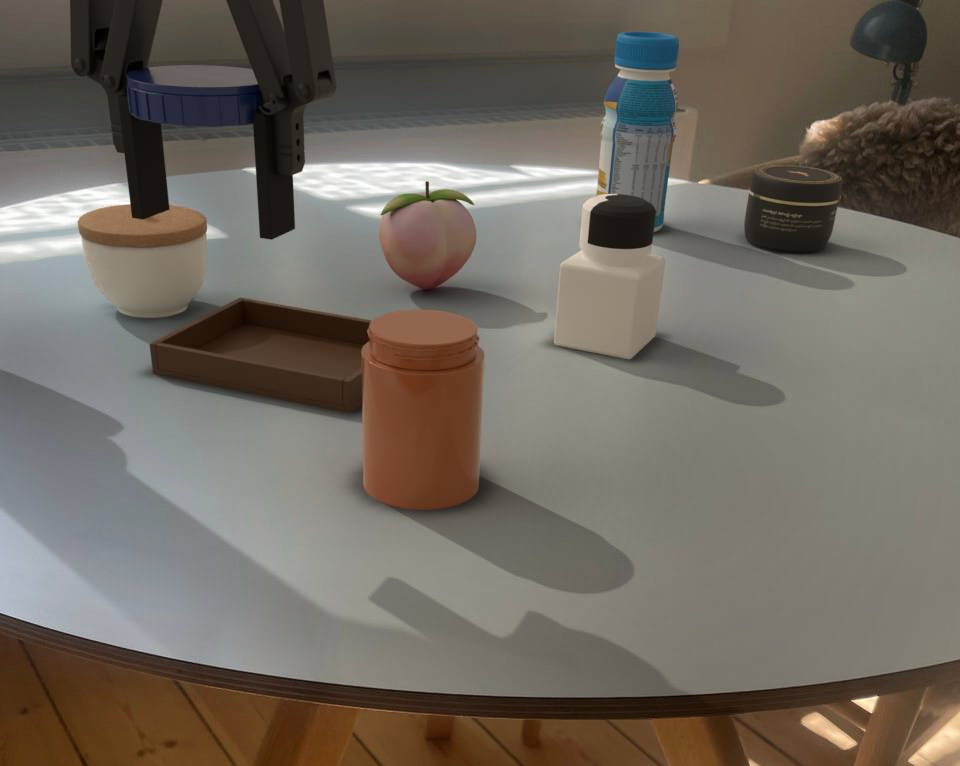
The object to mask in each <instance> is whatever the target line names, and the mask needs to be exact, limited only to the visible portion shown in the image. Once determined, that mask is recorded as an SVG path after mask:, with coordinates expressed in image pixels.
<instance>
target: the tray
mask: <svg viewBox="0 0 960 766" xmlns="http://www.w3.org/2000/svg"><path fill="white" fill-rule="evenodd" d="M372 320H373V319H372ZM372 320H371V319H366V318H359V317H354V316H349V315H342V314H338V313H336V314H335V313H332V312H327V311H320V310H314V309H308V308H303V307H298V306H297V307H296V306H292V305H285V304H280V303H275V302H274V303H273V302H270V301H269V302H268V301H262V300H256V299H250V298H244V297H238V298H236V299H234V300H232V301H230V302H227V303H226V304H223V306H221V307H218V308H216V309H214V310H213V311H210V312H209V313H207V314H205V315H203V316H200V317H198V318H197V319H195V320H193V321H191V322H189V323H187V324H185V325H183V326H181V327H179V328H177V329H175V330H173V331H171V332H170V333H167V334H165V335H163V336H161V337H160V338H157V339H156V340H154V341H151V342H150V343H149V352H150V360H151V368H152V374H153V375H158V376H163V377H167V378H173V379H178V380H182V381H187V382H193V383H198V384H203V385H208V386H212V387H219V388H221V389H222V388H224V389H226V390H227V389H229V390H231V391H238V392H243V393H248V394H252V395H253V394H254V395H258V396H262V397H268V398H272V399H278V400H283V401H288V402H293V403H298V404H302V405H308V406H314V407H318V408H322V409H328V410H333V411H338V412H343V413H348V414H351V413H353V412H354V411H356V410H357V409H358V408H359V407H360V406H362V367H361V350H362V348H363V346H364V345H365V344H366V343H367V342H369V337H368V334H367V330H368V328H369V325H370V323H371V321H372Z"/></svg>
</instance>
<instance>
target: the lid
mask: <svg viewBox="0 0 960 766" xmlns="http://www.w3.org/2000/svg"><path fill="white" fill-rule="evenodd" d="M126 77H127V83H128V84H126V88H127V97H128V106H129V110H130V114H132V115H133V116H134V117H136V118H139V119H141V120H145V121H149V122H154V123H159V124H161V125H169V126H178V127H179V126H180V127H201V128H203V127H206V128H207V127H208V128H209V127H211V128H213V127H215V128H220V127H236V126H248V125H253V115H252V112H257V111H260V108H259V106H262V105H264V104H265V101H264V98H263V96H262V93H261V91H260V88H259V85H258V83H257V80H256V77H255V75H254V72H253V70H252V68H247V67H246V68H245V67H238V66H227V65H208V64H207V65H206V64H198V65H197V64H179V65H176V64H175V65H161V66H160V65H158V66H151V67H147V68H142V69H138V70H134V71H131V72H129V73H128V74H127V76H126Z"/></svg>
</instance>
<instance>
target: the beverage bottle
mask: <svg viewBox="0 0 960 766" xmlns="http://www.w3.org/2000/svg"><path fill="white" fill-rule="evenodd" d="M679 41H680V38H679V37H678V36H677V35H674V34H669V33H663V32H656V31H655V32H654V31H623V32H619V33H618V34H617V37H616V41H615V52H614V67H615V68H616V69H618V70H619V72H618V74H617V75H616V76H615V77H614V78H613V80H612V82H611V84H610V85H609V87H608V89H607V91H606V94H605V97H604V99H603V106H604V108H605V115H604V117H603V118H602V120H601V122H600V127H599V136H600V138H601V139H600V149H599V162H598V173H597V183H596V184H597V185H596V186H597V187H596V195H595V196H598V195H603V194H624V195H631V196H636V197H640V198H642V199H644V200H646V201H648V202H649V203H651V204H652V205H653V206H654V208H655V209H656V217H655V225H654V233H657V232H658V231H660V230H661V229H662V228H663V226H664V222H665V221H664V220H665V207H666V200H667V199H666V198H667V191H668V185H669V177H670V170H671V161H672V153H673V147H674V142H675V139H676V136H677V125H676V123H675V115H676V113H677V112H678V111H679V99H678V94H677V91H676V87H675V84H674V83H673V80H672V79H671V76H670V73H672V72H674V71H676V68H677V66H678V65H677V64H678V57H679V48H680V42H679Z"/></svg>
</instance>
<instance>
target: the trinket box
mask: <svg viewBox="0 0 960 766" xmlns="http://www.w3.org/2000/svg"><path fill="white" fill-rule="evenodd" d="M169 209H170V210H168V211H165V212H162V213H159V214H157V215H154V216H151V217H148V218H146V219H136V218H132V213H131V205H130V203H129V204H119V205H118V204H116V205H111V206H105V207H100V208H96V209H93V210H90V211H87V212H85V213H83V214H82V215H81V216H80V217H79V218H78V220H77V225H78V226H77V227H78V233H79V235H80V237H81V244H82V250H83V256H84V260H85V264H86V268H87V270H88V272H89V276H90V278H91V280H92V282H93V283H94V285H95V287H96V289H97V290H98V291H99V293H100V294H101V295H102V296H103V297H104V298H105V299H106V300H107V301H108V302H109V303H111V304H112V305H113V306H115V307H116V309H117V311H118V312H119V313H121V314H122V315H125V316H127V317H128V316H129V317H132V318H141V319H157V318H158V319H160V318H166V317H171V316H177V315H180V314H182V313H183V312H185V311H186V310H187V309H188V307H189V306H188V305H189V304H190V303H191V301H192V300H193V299H194V298H195V297H196V296H197V294H198V293H199V291H200V290H201V288H202V286H203V283H204V281H205V277H206V272H207V264H208V238H207V231H208V221H207V218H206V216H205V215H204V214H203V213H202V212H199V211H198V210H195V209H192V208H189V207H185V206H179V205H172V204H169Z"/></svg>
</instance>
